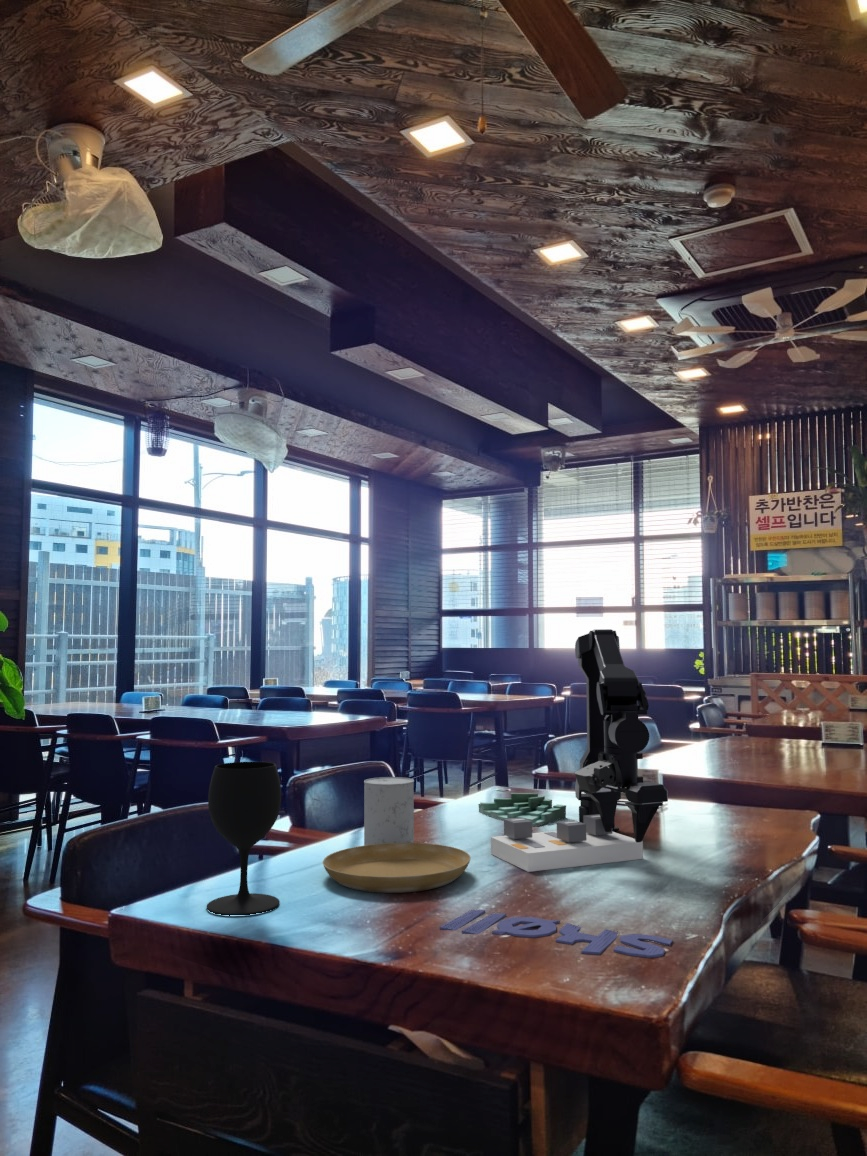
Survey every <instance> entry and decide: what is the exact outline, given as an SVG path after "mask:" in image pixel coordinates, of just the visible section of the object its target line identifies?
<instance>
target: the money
mask: <svg viewBox="0 0 867 1156" xmlns="http://www.w3.org/2000/svg"><path fill="white" fill-rule="evenodd" d="M477 805H478V813H480V814H482V815H485V816H487V817H490V818H493V819H496V820H499V821H503V822H504V819H511V818H524V819H527V820H529V821H532V827H540V825H541V826H544V825H546V824H549V823H550V822H551V823H553V821H554V822H558V821H560V820H564V819H566V818H567V805H566V804H565V805H564V804H555V805H553V799H551V798H546V796H545V795H543V796H542V795H541V796H539V793H537V792H536V793H535V792H510V798H504V797H501V798H498V797H497V798H496V797H495V798H493V802H492V801H491V802H489V801H488V802H486V801H484V802H483V801H480V803H478V804H477ZM563 818H564V819H563Z"/></svg>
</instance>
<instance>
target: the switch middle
mask: <svg viewBox="0 0 867 1156" xmlns="http://www.w3.org/2000/svg"><path fill="white" fill-rule="evenodd" d="M556 831H557V838H559V839H562V840H564V841H567V842H576V841H586V824H584V823H581V822H579V820H575V819H573V820H572V819H571V820H561V821H560V820H558V821H556Z"/></svg>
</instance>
